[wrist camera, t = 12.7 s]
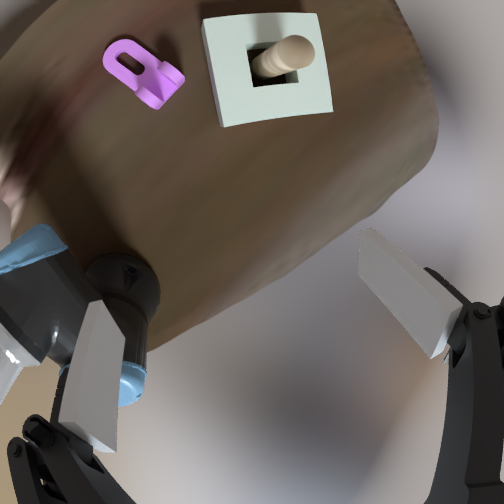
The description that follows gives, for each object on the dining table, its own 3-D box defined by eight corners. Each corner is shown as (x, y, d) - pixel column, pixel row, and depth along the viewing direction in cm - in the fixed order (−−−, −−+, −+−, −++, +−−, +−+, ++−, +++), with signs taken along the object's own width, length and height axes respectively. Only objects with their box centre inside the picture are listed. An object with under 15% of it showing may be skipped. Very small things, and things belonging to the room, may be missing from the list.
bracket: (184, 81, 33) (184, 75, 28) (158, 109, 35) (153, 109, 29) (123, 35, 27) (113, 22, 21) (98, 63, 28) (83, 55, 22)
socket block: (219, 125, 38) (224, 127, 34) (200, 29, 30) (203, 19, 25) (318, 110, 40) (333, 111, 35) (303, 21, 31) (316, 13, 27)
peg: (251, 81, 35) (282, 69, 24) (247, 57, 33) (276, 35, 21) (277, 78, 36) (317, 67, 24) (273, 55, 34) (311, 34, 22)
